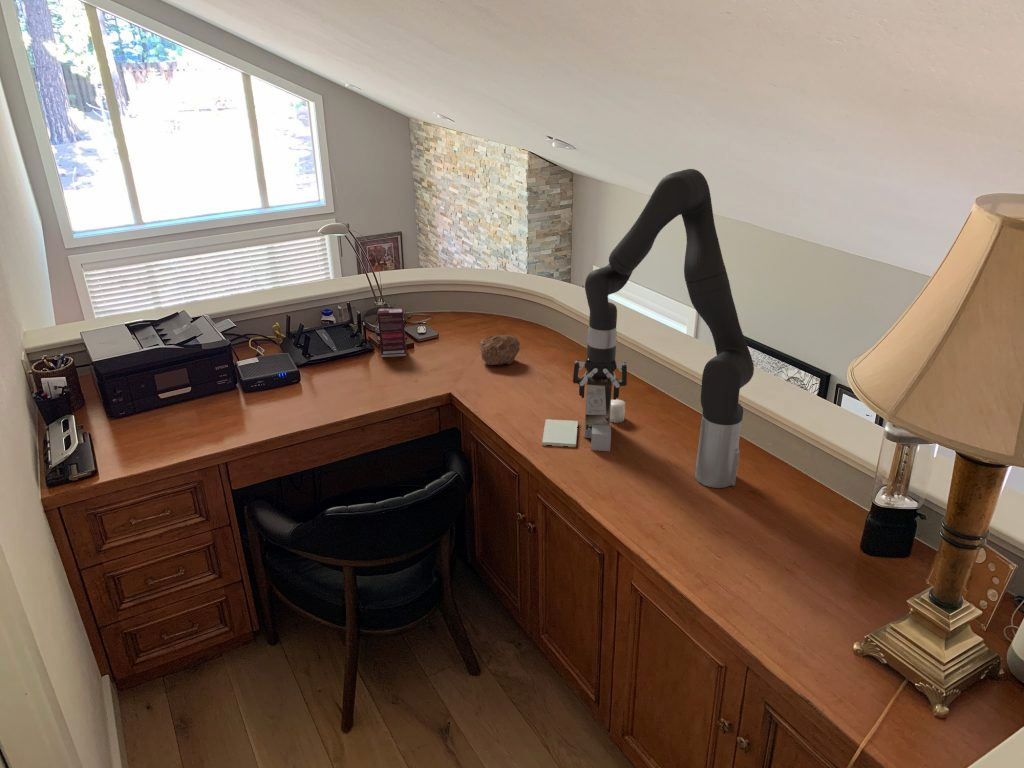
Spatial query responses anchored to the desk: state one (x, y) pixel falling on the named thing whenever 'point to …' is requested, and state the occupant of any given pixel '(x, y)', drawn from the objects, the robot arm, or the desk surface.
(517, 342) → the decorative rock
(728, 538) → the desk surface
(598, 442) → the grey block
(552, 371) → the desk surface
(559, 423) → the sage board
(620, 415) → the white rounded cylinder
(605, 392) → the coffee box
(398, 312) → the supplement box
